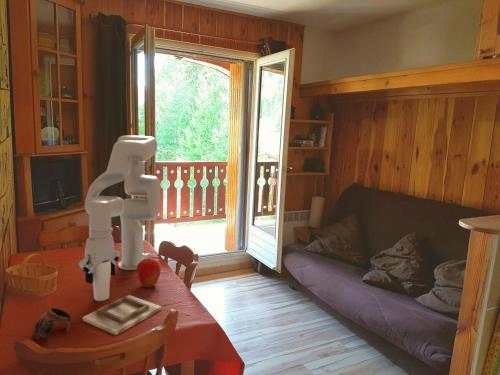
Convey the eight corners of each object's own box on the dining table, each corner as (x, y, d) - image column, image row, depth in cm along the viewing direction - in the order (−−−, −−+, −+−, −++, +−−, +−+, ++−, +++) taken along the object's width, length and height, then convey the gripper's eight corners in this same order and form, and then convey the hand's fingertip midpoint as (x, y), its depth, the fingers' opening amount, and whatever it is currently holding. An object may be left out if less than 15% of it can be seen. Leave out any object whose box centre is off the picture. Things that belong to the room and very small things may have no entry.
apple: (164, 284, 152) (164, 256, 151) (150, 292, 144) (150, 263, 142) (146, 279, 156) (147, 252, 154) (131, 287, 148) (131, 258, 146)
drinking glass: (104, 303, 134) (103, 264, 131) (87, 301, 135) (87, 262, 133) (114, 295, 140) (114, 258, 138) (99, 293, 142) (98, 256, 139)
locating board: (129, 298, 139) (129, 291, 139) (161, 309, 131) (161, 302, 131) (82, 320, 122) (82, 312, 121) (116, 335, 114) (116, 327, 114)
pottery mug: (36, 328, 117) (50, 303, 119) (64, 339, 118) (77, 315, 120) (22, 339, 105) (37, 312, 107) (53, 352, 107) (68, 325, 108)
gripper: (112, 227, 143) (112, 269, 145) (72, 236, 128) (73, 283, 130) (126, 230, 139) (126, 274, 142) (86, 240, 124) (86, 288, 127)
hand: (100, 278), depth 136 cm, fingers open, 9 cm apart
